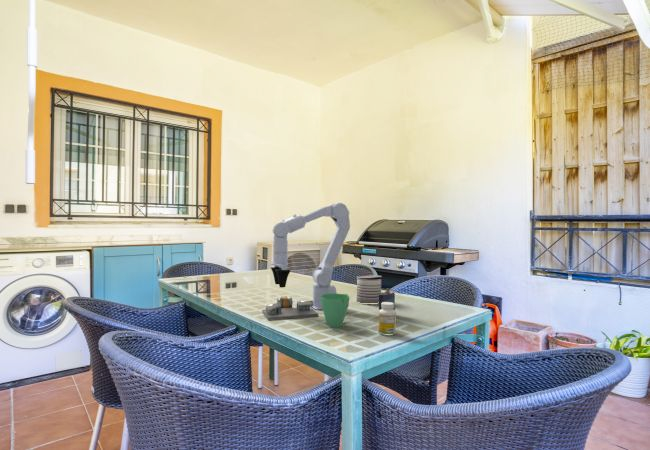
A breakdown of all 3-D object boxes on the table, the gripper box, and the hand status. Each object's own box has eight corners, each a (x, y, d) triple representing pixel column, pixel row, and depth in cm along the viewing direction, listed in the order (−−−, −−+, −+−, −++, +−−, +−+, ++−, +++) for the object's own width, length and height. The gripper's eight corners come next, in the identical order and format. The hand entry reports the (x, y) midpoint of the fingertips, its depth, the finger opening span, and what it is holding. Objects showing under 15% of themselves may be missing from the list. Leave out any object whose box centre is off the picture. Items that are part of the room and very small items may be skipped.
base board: (308, 309, 146) (308, 306, 146) (318, 316, 135) (318, 313, 135) (262, 312, 139) (262, 309, 139) (268, 320, 128) (268, 317, 128)
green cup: (341, 331, 116) (342, 300, 116) (315, 326, 121) (315, 297, 121) (358, 320, 129) (358, 293, 129) (333, 317, 134) (334, 290, 134)
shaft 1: (275, 310, 138) (275, 302, 138) (282, 312, 136) (282, 303, 136) (264, 313, 133) (264, 304, 133) (271, 315, 131) (271, 306, 131)
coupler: (289, 306, 150) (290, 296, 150) (292, 309, 146) (292, 298, 146) (276, 307, 148) (276, 296, 148) (279, 309, 144) (279, 299, 144)
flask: (390, 313, 141) (390, 286, 141) (396, 315, 139) (397, 287, 139) (377, 318, 134) (377, 289, 134) (383, 319, 132) (384, 290, 132)
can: (366, 305, 154) (366, 278, 154) (350, 300, 163) (351, 274, 163) (386, 303, 159) (387, 276, 159) (370, 298, 169) (371, 273, 169)
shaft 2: (310, 308, 143) (311, 299, 143) (313, 310, 140) (313, 301, 140) (296, 309, 141) (296, 300, 141) (299, 311, 138) (299, 302, 138)
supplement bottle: (383, 330, 118) (383, 300, 118) (398, 333, 115) (398, 302, 115) (375, 333, 114) (376, 303, 114) (391, 337, 111) (391, 305, 111)
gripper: (267, 251, 151) (266, 283, 151) (274, 253, 137) (274, 289, 138) (283, 250, 154) (283, 282, 154) (292, 253, 140) (292, 288, 140)
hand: (280, 285), depth 146 cm, fingers open, 7 cm apart
